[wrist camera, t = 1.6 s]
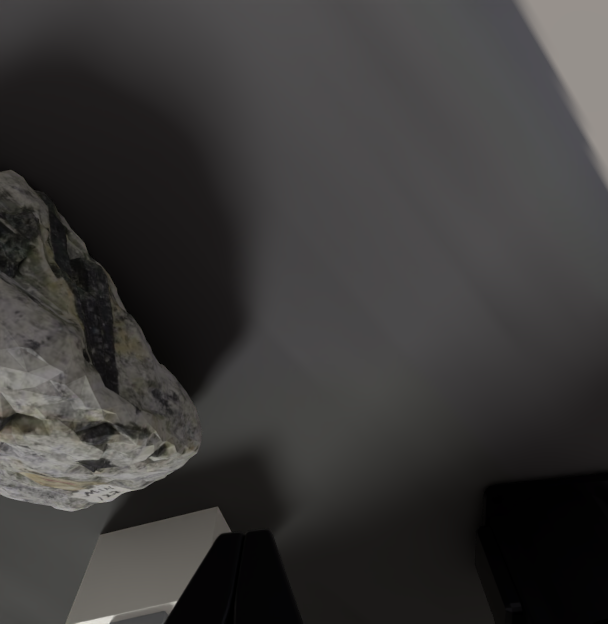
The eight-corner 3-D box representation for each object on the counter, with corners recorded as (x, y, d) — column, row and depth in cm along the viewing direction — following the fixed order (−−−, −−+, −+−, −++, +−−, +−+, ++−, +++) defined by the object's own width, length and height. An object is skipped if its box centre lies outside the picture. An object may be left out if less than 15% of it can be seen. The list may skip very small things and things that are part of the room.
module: (217, 504, 25) (201, 610, 20) (247, 559, 26) (238, 667, 22) (100, 533, 25) (58, 640, 21) (137, 585, 27) (105, 694, 23)
